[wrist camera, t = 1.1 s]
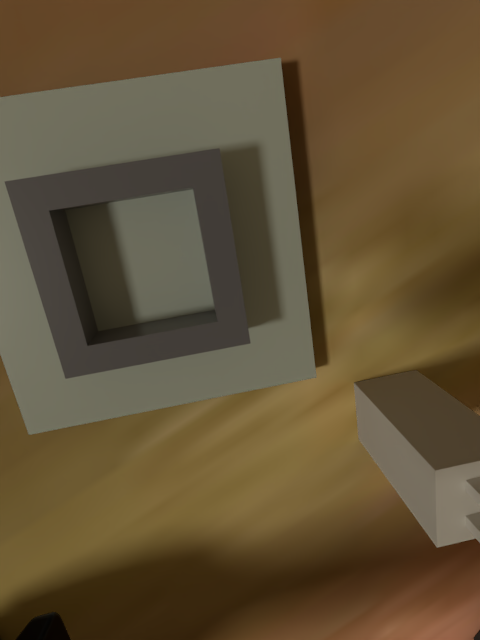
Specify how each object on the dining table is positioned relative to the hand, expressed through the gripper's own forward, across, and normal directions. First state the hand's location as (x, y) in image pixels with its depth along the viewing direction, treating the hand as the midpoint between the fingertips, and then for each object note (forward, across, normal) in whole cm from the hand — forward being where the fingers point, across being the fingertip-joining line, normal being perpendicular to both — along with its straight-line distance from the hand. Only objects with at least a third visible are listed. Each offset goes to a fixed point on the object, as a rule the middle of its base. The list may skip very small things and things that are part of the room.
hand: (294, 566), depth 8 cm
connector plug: (+13, -8, +6) cm, 16 cm away
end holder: (+13, +3, -5) cm, 14 cm away
